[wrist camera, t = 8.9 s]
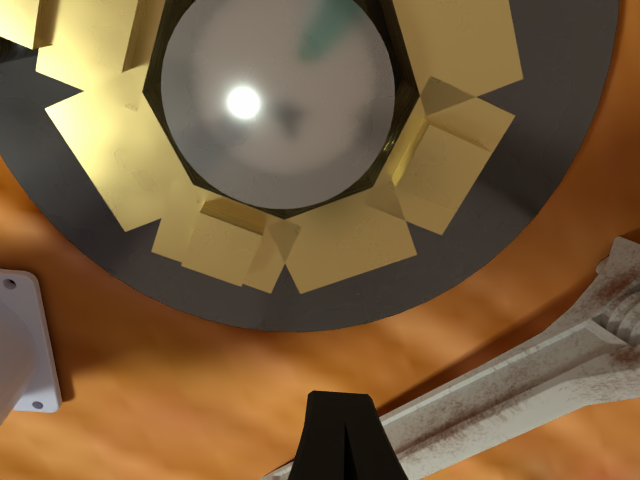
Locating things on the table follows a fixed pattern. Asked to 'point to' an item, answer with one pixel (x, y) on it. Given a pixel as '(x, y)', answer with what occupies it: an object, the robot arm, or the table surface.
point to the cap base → (314, 146)
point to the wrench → (529, 377)
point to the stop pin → (14, 51)
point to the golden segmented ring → (258, 222)
